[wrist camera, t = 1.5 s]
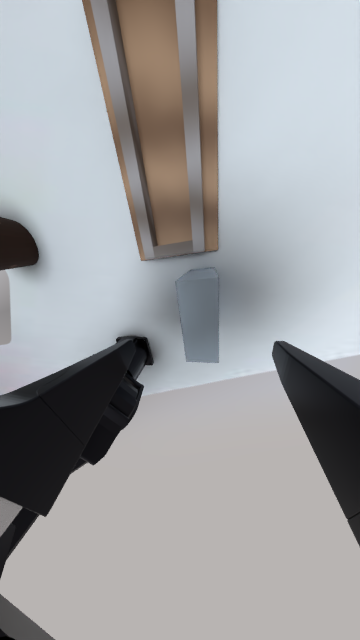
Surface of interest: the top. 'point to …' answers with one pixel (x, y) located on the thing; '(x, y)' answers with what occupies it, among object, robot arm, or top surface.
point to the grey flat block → (199, 314)
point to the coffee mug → (16, 245)
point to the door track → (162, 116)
